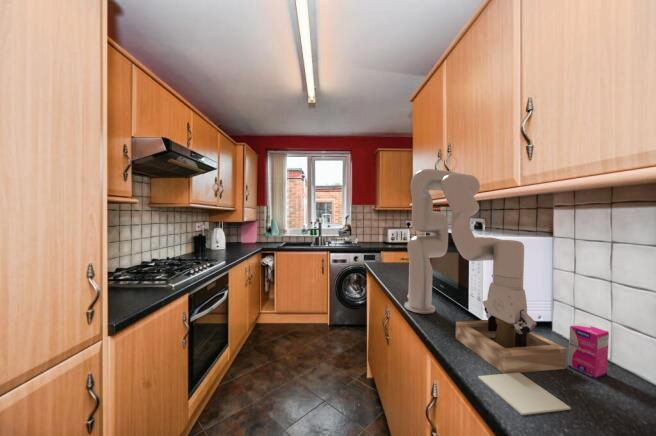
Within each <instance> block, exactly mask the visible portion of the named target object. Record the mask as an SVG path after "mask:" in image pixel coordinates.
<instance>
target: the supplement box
mask: <svg viewBox="0 0 656 436" xmlns="http://www.w3.org/2000/svg"><path fill="white" fill-rule="evenodd" d="M609 333H610V332H609V331H608V330H604V329H601V328H598V327H594V326H591V325H589V324H586V323H583V322H580V323H577V324H573V325H570V326H569V339H568V363H567V366H568V367H569V368H571V369H574V370H575V371H579V372H580V373H582V374H585V375H587V376H589V377H590V378H593V379H595V380H596V379H597V378H598V379H599V378H600V377H603V376H607V375H608V357H609V335H610V334H609Z"/></svg>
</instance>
